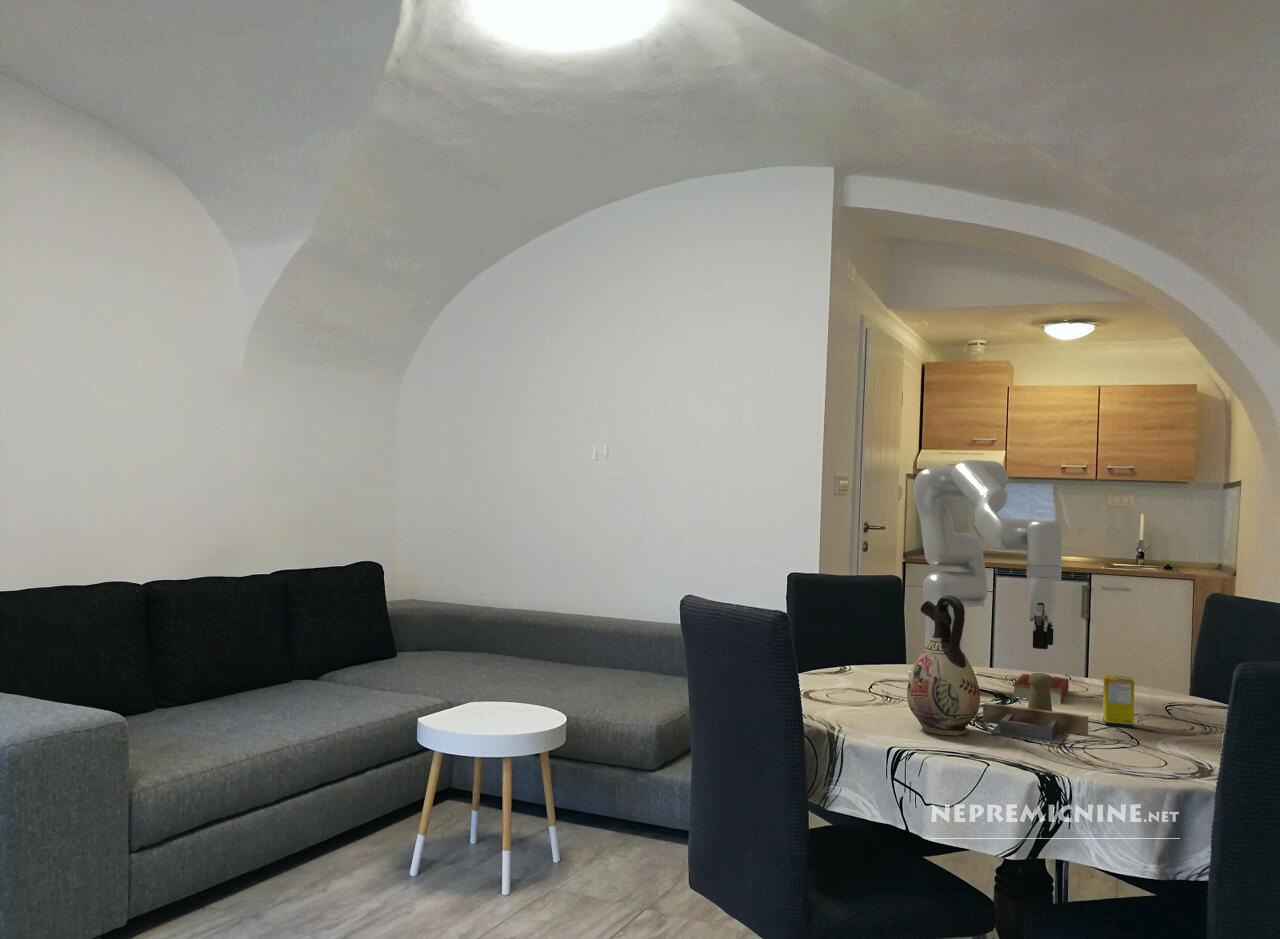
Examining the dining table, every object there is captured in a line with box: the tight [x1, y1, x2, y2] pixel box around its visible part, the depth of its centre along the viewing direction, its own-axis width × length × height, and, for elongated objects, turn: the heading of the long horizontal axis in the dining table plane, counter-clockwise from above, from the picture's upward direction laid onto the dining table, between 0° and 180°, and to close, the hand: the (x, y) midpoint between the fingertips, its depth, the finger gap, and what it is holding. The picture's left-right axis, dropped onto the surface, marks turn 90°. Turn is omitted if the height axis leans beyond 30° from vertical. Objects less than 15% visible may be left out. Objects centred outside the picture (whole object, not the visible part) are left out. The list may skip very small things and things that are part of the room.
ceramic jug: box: [906, 595, 981, 737], centre depth 216 cm, size 17×15×30 cm
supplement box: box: [1102, 674, 1135, 729], centre depth 230 cm, size 6×6×11 cm
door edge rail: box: [982, 702, 1089, 736], centre depth 223 cm, size 22×2×4 cm, turn 61°
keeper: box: [990, 713, 1068, 745], centre depth 216 cm, size 14×12×3 cm
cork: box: [1027, 672, 1053, 711], centre depth 231 cm, size 6×6×11 cm
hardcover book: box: [1012, 673, 1070, 704], centre depth 264 cm, size 12×21×4 cm, turn 152°
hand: (1043, 646), depth 231 cm, fingers open, 9 cm apart
